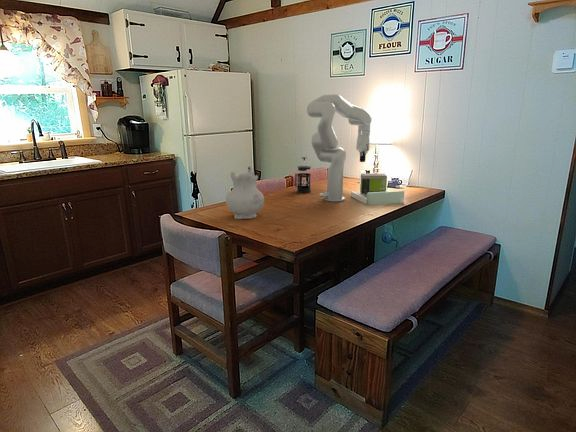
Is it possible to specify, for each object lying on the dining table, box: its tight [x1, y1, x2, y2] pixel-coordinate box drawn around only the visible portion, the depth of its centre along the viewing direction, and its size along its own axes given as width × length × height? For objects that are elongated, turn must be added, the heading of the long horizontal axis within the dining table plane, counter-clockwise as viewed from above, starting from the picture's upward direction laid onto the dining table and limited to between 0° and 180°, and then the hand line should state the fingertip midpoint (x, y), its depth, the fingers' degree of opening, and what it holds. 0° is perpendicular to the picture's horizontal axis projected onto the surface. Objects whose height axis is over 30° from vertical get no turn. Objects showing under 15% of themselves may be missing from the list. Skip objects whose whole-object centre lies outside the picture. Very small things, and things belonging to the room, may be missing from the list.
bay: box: [350, 190, 405, 206], centre depth 234 cm, size 23×24×7 cm
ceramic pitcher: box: [225, 166, 265, 220], centre depth 196 cm, size 22×20×25 cm
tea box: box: [359, 172, 388, 197], centre depth 237 cm, size 15×10×15 cm, turn 84°
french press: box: [294, 156, 312, 194], centre depth 252 cm, size 12×9×23 cm
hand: (362, 161), depth 250 cm, fingers closed
